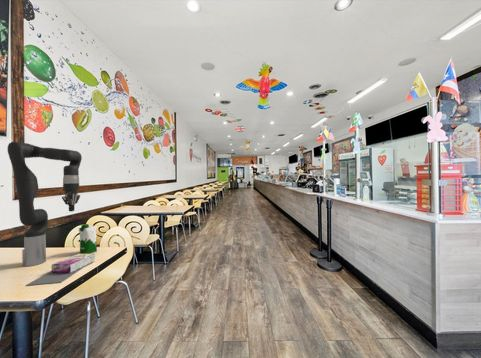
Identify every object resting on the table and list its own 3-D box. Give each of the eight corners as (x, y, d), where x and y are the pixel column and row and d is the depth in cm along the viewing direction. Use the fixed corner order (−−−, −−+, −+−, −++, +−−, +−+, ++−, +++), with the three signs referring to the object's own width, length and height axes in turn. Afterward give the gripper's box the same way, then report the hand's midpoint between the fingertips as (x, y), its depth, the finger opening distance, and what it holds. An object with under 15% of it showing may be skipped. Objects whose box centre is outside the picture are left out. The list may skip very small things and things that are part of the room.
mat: (25, 285, 94) (25, 285, 94) (57, 268, 114) (57, 267, 114) (61, 282, 96) (61, 281, 96) (86, 265, 116) (86, 264, 116)
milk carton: (77, 254, 136) (76, 225, 136) (90, 249, 145) (90, 222, 145) (86, 255, 133) (85, 225, 133) (99, 250, 142) (99, 223, 142)
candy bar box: (51, 264, 106) (78, 253, 123) (51, 273, 106) (78, 261, 122) (70, 264, 105) (95, 253, 122) (70, 273, 105) (95, 261, 122)
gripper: (71, 182, 126) (72, 209, 126) (56, 183, 113) (56, 213, 113) (84, 182, 127) (85, 209, 127) (70, 182, 114) (71, 212, 114)
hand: (71, 211), depth 120 cm, fingers closed
